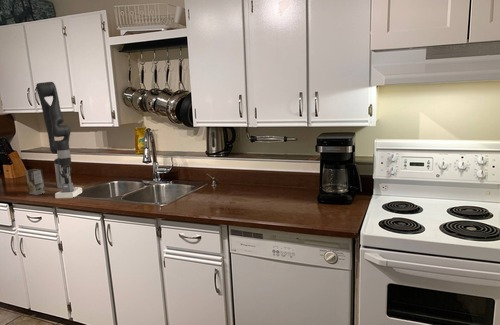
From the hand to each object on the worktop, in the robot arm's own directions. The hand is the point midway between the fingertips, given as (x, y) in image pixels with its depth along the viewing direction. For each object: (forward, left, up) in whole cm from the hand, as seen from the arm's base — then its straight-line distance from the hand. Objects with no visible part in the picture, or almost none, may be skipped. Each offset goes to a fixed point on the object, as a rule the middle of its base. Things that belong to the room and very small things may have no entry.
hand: (67, 183), depth 240 cm
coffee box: (-9, -25, -8) cm, 28 cm away
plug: (0, 0, -7) cm, 7 cm away
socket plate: (-1, 0, -8) cm, 8 cm away
